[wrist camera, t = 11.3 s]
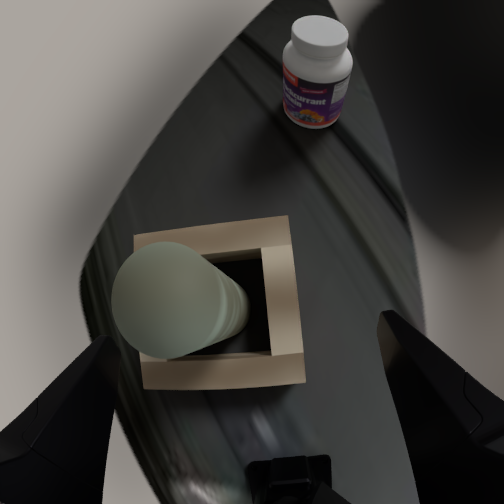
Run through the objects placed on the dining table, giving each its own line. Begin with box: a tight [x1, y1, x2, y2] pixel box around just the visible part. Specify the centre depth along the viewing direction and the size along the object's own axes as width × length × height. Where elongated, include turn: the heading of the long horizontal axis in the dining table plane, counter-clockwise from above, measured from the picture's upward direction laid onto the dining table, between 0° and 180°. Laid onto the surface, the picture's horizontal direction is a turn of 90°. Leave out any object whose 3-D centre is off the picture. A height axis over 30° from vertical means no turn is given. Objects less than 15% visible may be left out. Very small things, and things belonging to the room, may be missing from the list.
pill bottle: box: [283, 16, 353, 129], centre depth 21 cm, size 5×5×10 cm
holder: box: [134, 215, 306, 390], centre depth 21 cm, size 11×11×4 cm
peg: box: [111, 242, 252, 359], centre depth 17 cm, size 4×4×12 cm
